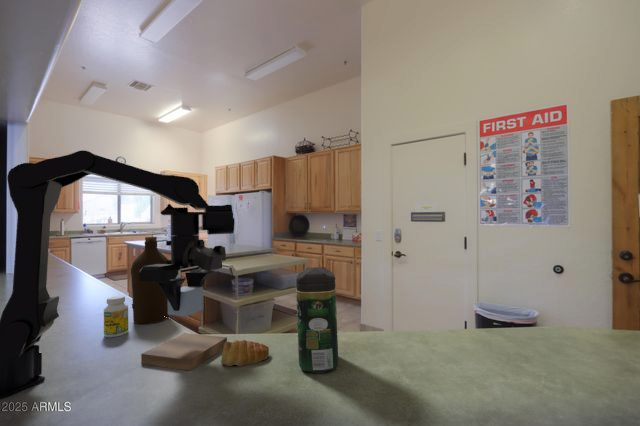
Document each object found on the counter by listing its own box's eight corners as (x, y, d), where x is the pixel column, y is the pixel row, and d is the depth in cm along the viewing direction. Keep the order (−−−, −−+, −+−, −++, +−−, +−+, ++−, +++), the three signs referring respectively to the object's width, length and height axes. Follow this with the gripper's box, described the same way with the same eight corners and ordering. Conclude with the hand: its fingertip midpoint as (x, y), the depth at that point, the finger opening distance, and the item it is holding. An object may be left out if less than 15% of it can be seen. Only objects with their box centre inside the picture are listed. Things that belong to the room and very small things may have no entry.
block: (186, 316, 62) (186, 291, 63) (167, 314, 64) (167, 290, 64) (203, 309, 67) (202, 286, 67) (184, 308, 69) (184, 286, 69)
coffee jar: (299, 353, 64) (297, 265, 65) (337, 352, 64) (334, 264, 65) (296, 376, 55) (293, 272, 55) (340, 374, 55) (336, 271, 55)
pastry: (269, 351, 66) (268, 333, 66) (268, 365, 60) (268, 345, 60) (224, 355, 65) (224, 337, 65) (219, 370, 58) (219, 350, 58)
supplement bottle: (132, 329, 82) (132, 294, 83) (122, 337, 77) (121, 299, 78) (110, 331, 82) (110, 295, 82) (99, 338, 76) (99, 300, 77)
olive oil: (176, 313, 97) (175, 235, 98) (161, 324, 86) (160, 237, 87) (142, 315, 96) (142, 236, 97) (123, 326, 86) (122, 238, 87)
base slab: (189, 370, 58) (189, 360, 58) (141, 363, 61) (141, 353, 61) (227, 346, 69) (226, 337, 69) (184, 341, 73) (184, 333, 73)
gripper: (183, 237, 55) (184, 323, 54) (240, 233, 73) (241, 298, 72) (137, 237, 58) (137, 319, 58) (202, 234, 76) (202, 296, 75)
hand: (185, 307), depth 66 cm, fingers closed on block, 5 cm apart
